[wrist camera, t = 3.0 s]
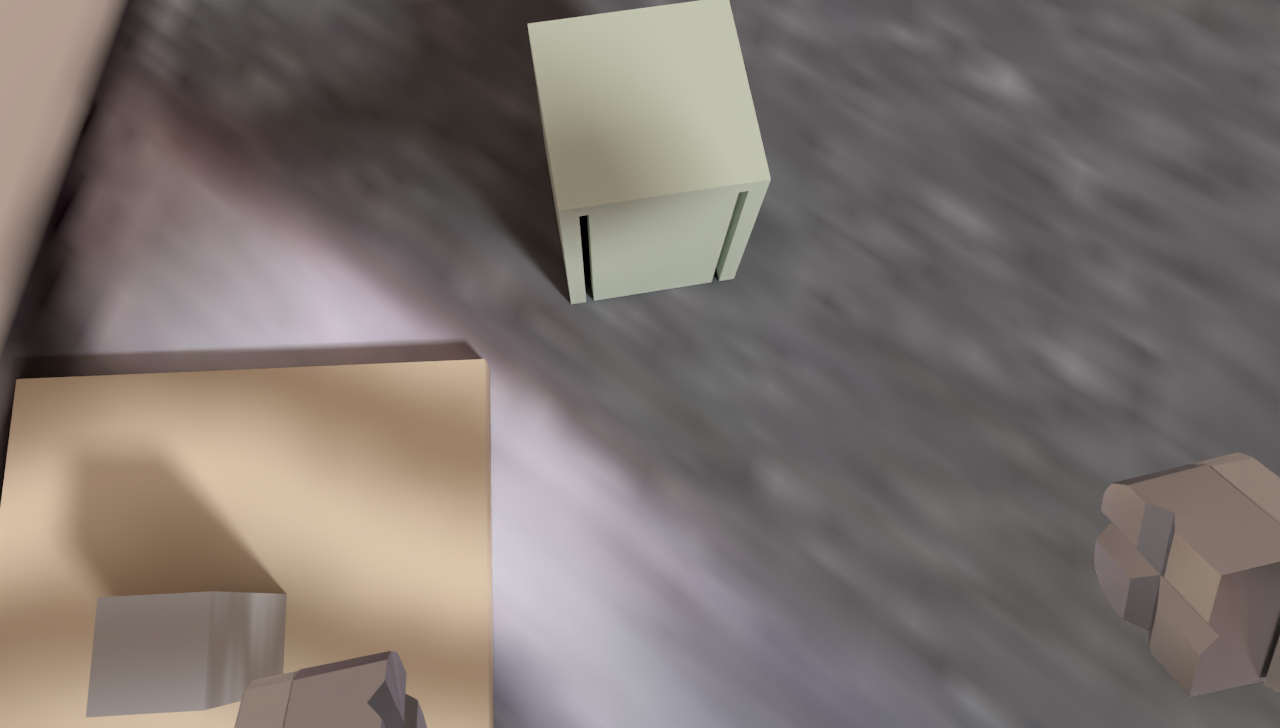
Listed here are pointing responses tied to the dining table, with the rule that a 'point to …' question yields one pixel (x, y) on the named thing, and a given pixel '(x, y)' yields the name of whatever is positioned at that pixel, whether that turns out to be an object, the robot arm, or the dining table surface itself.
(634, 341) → the dining table surface
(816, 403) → the dining table surface
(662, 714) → the dining table surface
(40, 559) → the post board
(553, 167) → the slotted sage cube
